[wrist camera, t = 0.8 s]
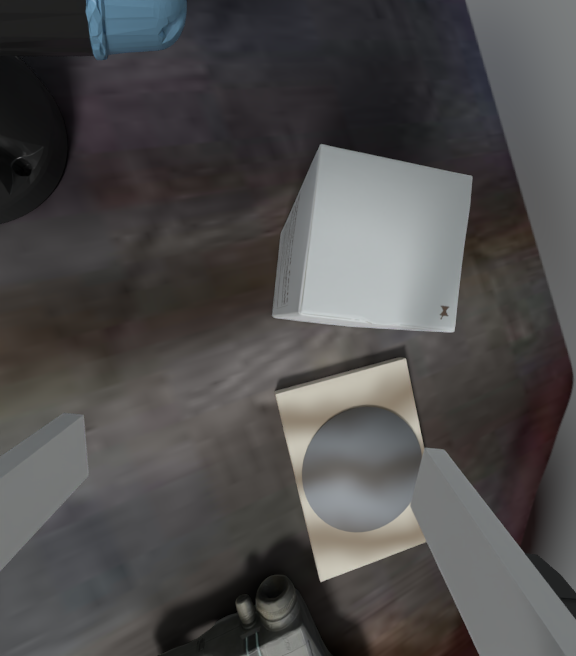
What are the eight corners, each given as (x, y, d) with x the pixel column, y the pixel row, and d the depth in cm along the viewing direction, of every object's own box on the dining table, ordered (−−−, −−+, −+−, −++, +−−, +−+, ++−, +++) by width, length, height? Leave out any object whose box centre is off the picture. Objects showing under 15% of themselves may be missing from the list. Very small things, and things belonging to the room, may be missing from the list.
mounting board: (274, 391, 29) (275, 394, 28) (399, 357, 31) (406, 358, 30) (317, 571, 31) (321, 584, 29) (434, 527, 33) (443, 537, 31)
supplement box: (365, 243, 30) (481, 171, 16) (354, 328, 31) (461, 337, 16) (279, 228, 29) (319, 134, 14) (269, 317, 29) (298, 317, 14)
